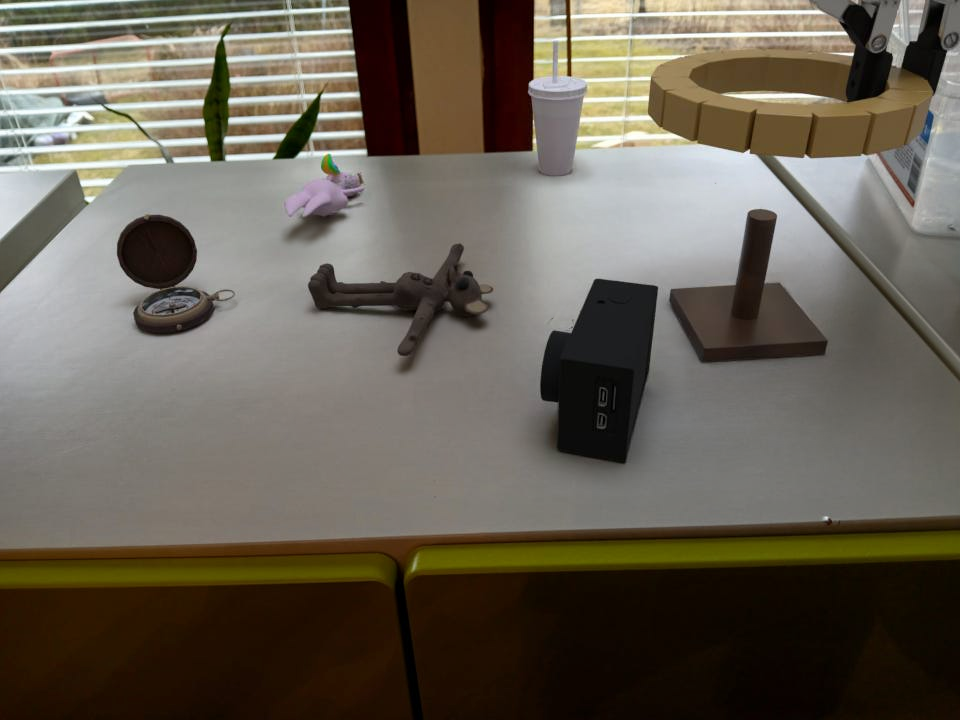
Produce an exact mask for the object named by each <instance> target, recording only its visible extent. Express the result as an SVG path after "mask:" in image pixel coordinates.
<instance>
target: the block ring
mask: <svg viewBox="0 0 960 720" xmlns="http://www.w3.org/2000/svg"><path fill="white" fill-rule="evenodd" d="M852 59H853V55H846V54H838V53H830V52H821V51H812V52H810V51H809V50H798V49H797V50H795V49H794V50H793V49H771V48H766V49H765V50H763V49H761V48H752V49H751V48H749V49H728V50H727V49H726V50H721V51H718V50H715V51H709V52H702V53H695V54H689V55H684V56H680V57H677V58H674V59H671V60H668V61H666V62H663V63H660V64H659V65H657V66H656V67H655V68H654V69H655V70H654V71H653V72H652V73H651V76H650V84H649V92H648V93H649V94H648V105H647V106H648V107H647V115H648V116H649V118H651V120H652V121H653V122H654V123H655V124H656V125H657V127H659V128H662V130H663V131H666V132H668V133H671V134H673V135H676V136H678V137H681V138H683V139H685V140H688V141H690V142H696V144H698V145H702V146H707V147H713V148H717V149H722V150H726V151H732V152H737V153H739V154H740V153H741V154H745V153H746V152H747V151H749V155H759V156H771V157H783V158H796V159H804V158H805V156H807V157H808V158H809V159H825V158H826V159H828V158H829V159H830V158H848V157H849V158H850V157H852V158H853V157H861V156H862V155H864V156H870V155H874V154H878V153H883V152H887V151H892V150H896V149H900V148H903V147H904V146H908V145H909V144H910V143H911V142H912V141H914V140H915V139H916V138H918V137H919V136H920V135H921V134H922V133H923V132H924V127H925V124H926V120H927V117H928V113H929V109H930V106H931V103H932V100H933V97H934V96H933V91H932V89H931V87H930V85H929V83H928V81H927V80H924V78H923V77H920V76H918V75H916V74H914V73H912V72H910V71H907V70H905V69H903V68H901V67H898V66H897V65H894V64H892V66H891V70H890V73H889V77H888V80H887V81H886V85H885V89H884V93H882V94H881V95H879V96H878V97H874V98H869V99H864V100H859V101H854V102H849V103H847V97H846V86H847V82H848V77H849V73H850V68H851V64H852ZM742 92H743V93H745V92H777V93H779V92H781V93H796V94H802V95H809V96H815V97H822V98H829V99H835V100H838V101H841V102H838V103H837V102H835V103H811V104H802V103H801V104H800V103H786V102H785V103H784V102H770V101H769V102H768V101H760V100H755V99H750V98H749V99H748V98H742V97H736V96H731V95H724V94H727V93H742ZM932 96H933V97H932Z"/></svg>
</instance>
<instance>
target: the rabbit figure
mask: <svg viewBox="0 0 960 720" xmlns="http://www.w3.org/2000/svg"><path fill="white" fill-rule="evenodd" d="M320 169H321V171H322V172H323V173H324V174H325V175H327V176H326V178H323V177H321V178H314V179H312V180H309V181H308V182H307V183H305V184H304V185H303V187H302V188H301V189H300V192H298V193H294V194H292V195H289V196H288V197H287V198H286V199H285V202H284V210H285V214H286V215H287V216H288V217H292V216H294V214H296V213H297V212H299V210H300V209H302V208H303V213H302V218H307V217H308V216H310V215H313V216H321V217H322V218H326V217H327V216H332V215H333V214H334V213H335V212H340V211H342V210H343V209H345V207H346V206H347V205H348V203H349V198H348V197H355V196H356V195H357V194H358V193H362V192H364V191H365V187H364V186H365V185H366V184H365V180H364V179H363V175H362V171H361V170H360V171H359V172H356V173H355V175H353V174H351V173H349V172H344V171H341V169H339V167H338V166H337V164H335V163H334V161H333V158H332V154H331V153H327V154H325V155H324V156H323V157H322V160H321V163H320Z"/></svg>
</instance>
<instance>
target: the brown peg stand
mask: <svg viewBox="0 0 960 720" xmlns="http://www.w3.org/2000/svg"><path fill="white" fill-rule="evenodd" d="M777 220H778V214H777V213H776V212H774V211H772V210H770V209H766V208H765V209H764V208H754V209H751V210H748V212H747V215H746V219H745V224H744V225H745V226H744V231H743V237H742V244H741V249H740V256H739V261H738V268H737V273H736V279H735V284H727V285H711V286H697V287H694V286H693V287H679V288H678V287H677V288H670V289H669V300H668V302H669V304H670V306H671V308H672V309H673V311H674V314H675V315H676V317H677V319H678V320H679V322H680V324H681V326H682V327H683V330H684V331H685V333H686V335H687V337H688V338H689V340H690V342H691V344H692V346H693V347H694V349H695V351H696V353H697V355H698V356H699V358H700V360H701V362H702V363H707V362H708V363H709V362H724V361H726V362H727V361H741V360H757V359H771V358H788V357H805V356H806V357H807V356H819V355H820V356H821V355H825V354H826V351H827V348H828V343H829V339H827V337H826V336H825V335H824V334H823V333H822V331H821V330H820V329H819V328H818V326H817V325H816V324H815V323H814V322H813V320H812V319H811V318H810V316H809V315H808V314H807V313H806V312H805V311H804V309H803V308H802V307H801V306H800V304H799V303H798V302H797V301H796V300H795V299H794V298H793V296H792V295H791V294H790V292H788V290H787V289H786V288H785V287H784V285H783V284H782V283H781V282H779V281H778V282H766V279H767V278H766V277H767V273H768V267H769V262H770V256H771V251H772V247H773V240H774V235H775V231H776V224H777Z"/></svg>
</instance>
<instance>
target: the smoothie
mask: <svg viewBox="0 0 960 720" xmlns="http://www.w3.org/2000/svg"><path fill="white" fill-rule="evenodd" d="M558 71H559V40H553V41H552V71H551V73H552V74H551V75H549V76H541V77H537V78H534V79H532V80H531V81H529V83H528V90H527V94H529V96H530V97H531V107H532V115H533V125H534V133H535V140H536V141H535V142H536V151H537V152H536V153H537V161H538V169H539V173H541V174H543V175H545V176H553V177H560V176H566V175H569V174H571V172H572V171H573V166H574V159H575V155H576V154H575V153H576V148H577V141H578V134H579V128H580V123H581V116H582V110H583V104H584V97H585V96H586V95H587V94H588V82H587V81H586V80H585V79H583V78H580V77H576V76H567V75H558V74H559V72H558Z"/></svg>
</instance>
